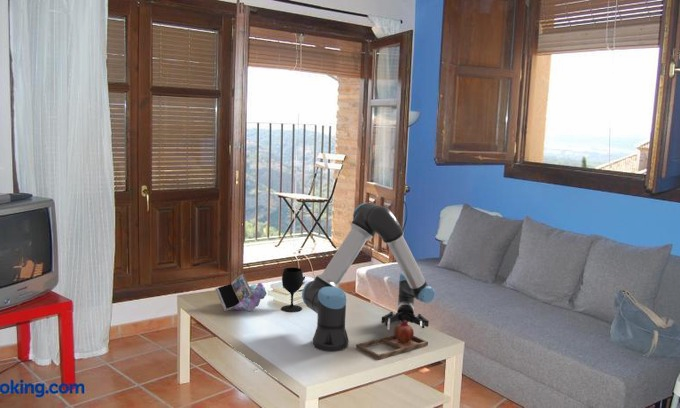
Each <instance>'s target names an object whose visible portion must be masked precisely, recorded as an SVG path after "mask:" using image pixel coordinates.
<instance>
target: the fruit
mask: <svg viewBox="0 0 680 408" xmlns="http://www.w3.org/2000/svg"><path fill="white" fill-rule="evenodd" d="M394 335H395V336H396V338H397V339H398V340H399V341H401V342H403V343H406V342H409V341H410V340H412V338H413V336H414V329H413V327H412V326H411V325H410V324H409V322H407V321H406V320H403V322H402V321H401V323H400V324H397V326H396V327H395V329H394Z"/></svg>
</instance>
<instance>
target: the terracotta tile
mask: <svg viewBox="0 0 680 408" xmlns="http://www.w3.org/2000/svg"><path fill="white" fill-rule="evenodd" d="M390 342H392V343H395V344H397V345H399V346H401V347H403V348H404V347H407V346H411V345H414V344H418V343H419V342H416V341H414V340H412V339H411V340H410V341H409V342H406V343H403V342H401V341H399V340H398V339H394V340H390Z"/></svg>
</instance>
